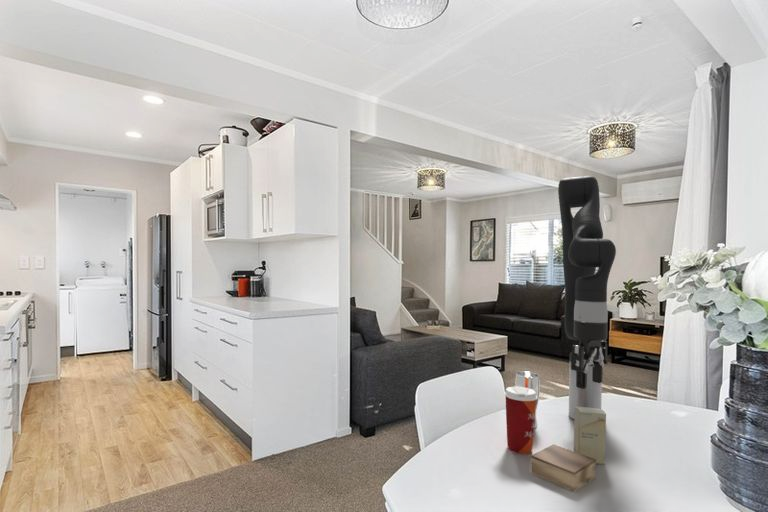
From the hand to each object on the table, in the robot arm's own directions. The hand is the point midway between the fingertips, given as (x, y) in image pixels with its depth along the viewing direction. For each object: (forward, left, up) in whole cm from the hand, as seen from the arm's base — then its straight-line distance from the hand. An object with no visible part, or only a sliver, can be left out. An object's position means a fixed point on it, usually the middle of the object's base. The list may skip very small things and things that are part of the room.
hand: (589, 385), depth 105 cm
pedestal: (+13, 0, -18) cm, 22 cm away
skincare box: (0, 0, -18) cm, 18 cm away
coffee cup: (+9, -14, -18) cm, 24 cm away
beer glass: (-8, -22, -18) cm, 30 cm away
